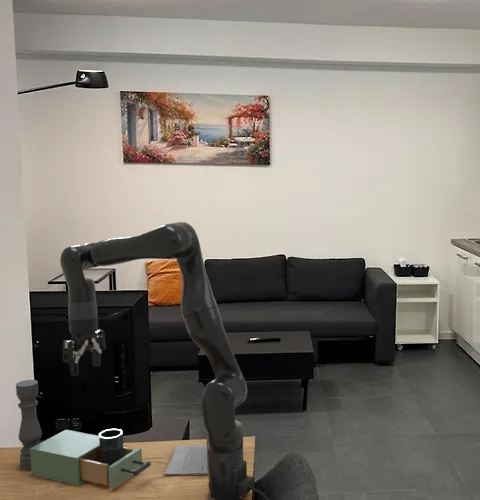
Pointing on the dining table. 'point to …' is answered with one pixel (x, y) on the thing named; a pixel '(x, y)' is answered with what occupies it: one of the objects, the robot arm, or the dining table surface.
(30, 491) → the dining table surface
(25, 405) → the candle holder
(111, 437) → the tumbler
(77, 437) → the cabinet
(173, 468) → the laptop
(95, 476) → the drawer
